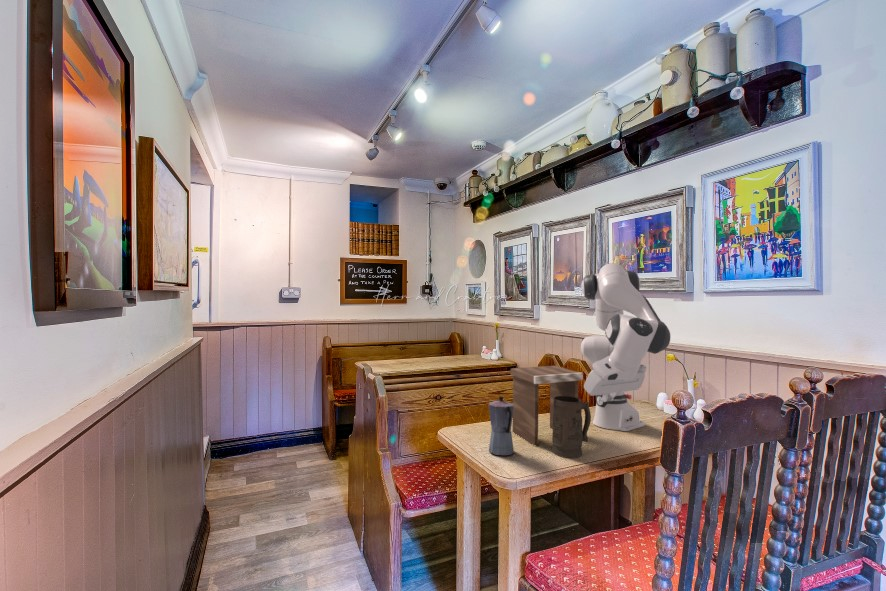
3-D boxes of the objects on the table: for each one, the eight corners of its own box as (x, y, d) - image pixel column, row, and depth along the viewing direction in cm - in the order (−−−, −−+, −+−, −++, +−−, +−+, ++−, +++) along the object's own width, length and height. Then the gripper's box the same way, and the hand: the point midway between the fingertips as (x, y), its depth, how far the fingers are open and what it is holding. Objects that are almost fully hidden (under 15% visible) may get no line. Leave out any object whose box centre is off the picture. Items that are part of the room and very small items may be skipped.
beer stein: (565, 460, 144) (569, 402, 144) (543, 449, 153) (547, 395, 154) (596, 455, 151) (599, 400, 152) (573, 445, 160) (577, 393, 161)
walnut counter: (553, 426, 180) (554, 365, 180) (581, 440, 164) (582, 373, 163) (509, 432, 172) (510, 368, 172) (534, 447, 155) (535, 376, 155)
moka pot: (504, 443, 159) (504, 391, 159) (524, 459, 145) (525, 401, 145) (481, 446, 156) (482, 393, 156) (499, 462, 142) (500, 403, 141)
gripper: (641, 358, 134) (625, 390, 141) (589, 363, 127) (575, 396, 134) (655, 370, 129) (638, 403, 136) (601, 377, 122) (586, 411, 129)
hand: (606, 400), depth 135 cm, fingers closed
